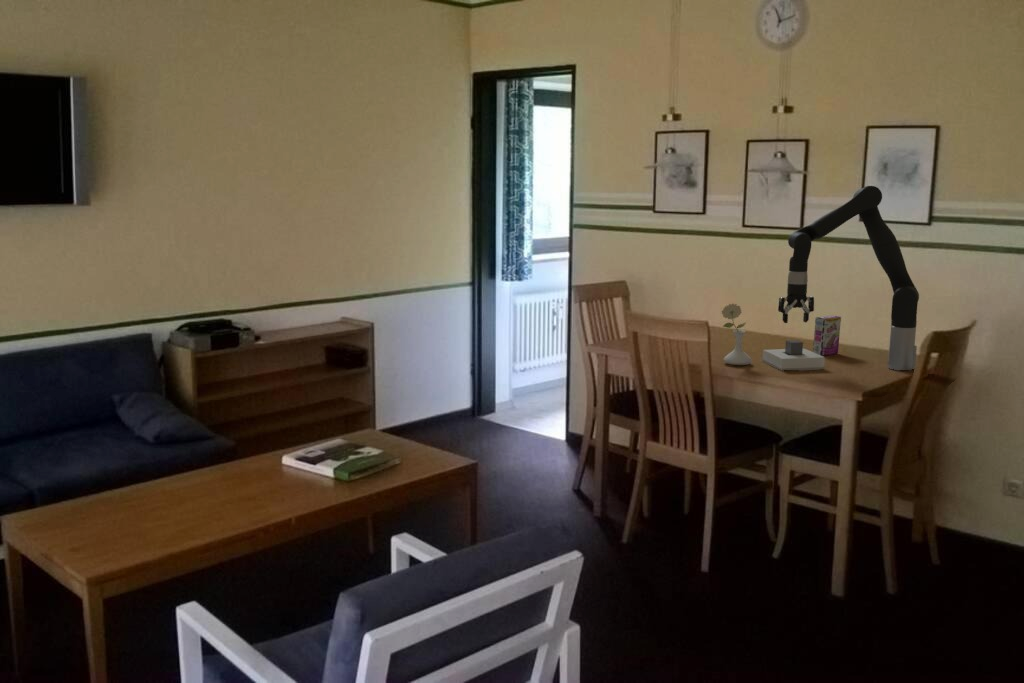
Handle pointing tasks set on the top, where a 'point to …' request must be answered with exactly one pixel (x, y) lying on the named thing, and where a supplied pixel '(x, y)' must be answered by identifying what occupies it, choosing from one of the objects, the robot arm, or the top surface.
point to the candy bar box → (826, 335)
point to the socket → (793, 360)
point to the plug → (793, 347)
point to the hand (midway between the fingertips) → (795, 322)
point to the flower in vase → (737, 354)
